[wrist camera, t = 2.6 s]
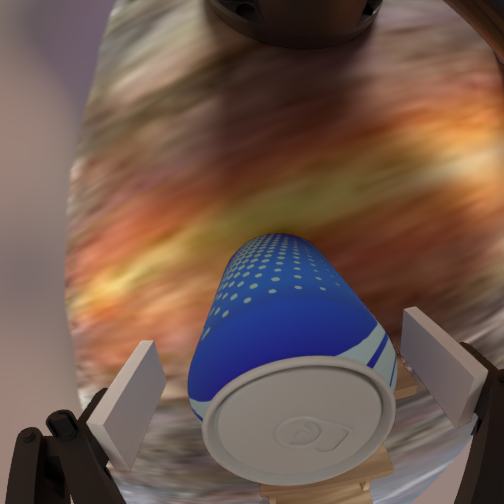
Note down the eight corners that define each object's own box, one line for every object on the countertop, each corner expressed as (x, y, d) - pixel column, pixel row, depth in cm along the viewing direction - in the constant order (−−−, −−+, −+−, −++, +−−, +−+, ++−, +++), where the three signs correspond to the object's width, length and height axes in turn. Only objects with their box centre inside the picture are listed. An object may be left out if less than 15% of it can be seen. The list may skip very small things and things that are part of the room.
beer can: (251, 343, 25) (243, 509, 10) (205, 257, 24) (123, 385, 8) (342, 304, 24) (427, 448, 9) (304, 212, 23) (395, 278, 7)
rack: (245, 360, 26) (241, 415, 19) (385, 339, 25) (417, 384, 18) (270, 492, 31) (271, 533, 24) (363, 478, 30) (374, 516, 23)
